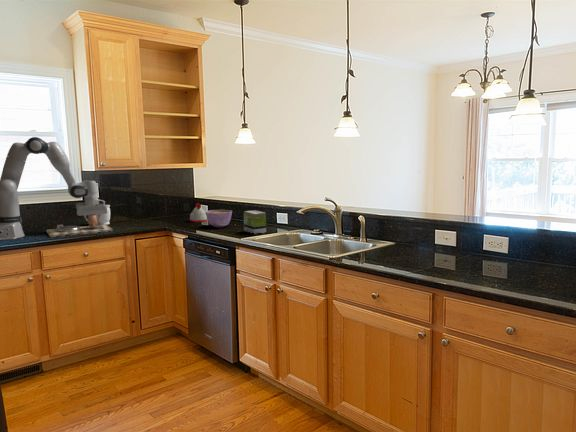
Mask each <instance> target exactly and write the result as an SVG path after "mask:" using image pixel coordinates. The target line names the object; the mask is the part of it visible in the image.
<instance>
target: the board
mask: <svg viewBox="0 0 576 432" xmlns="http://www.w3.org/2000/svg"><path fill="white" fill-rule="evenodd" d="M108 231H111V232H114V229H113V228H112V227H110V226H109V225H108V224H107V225H99V224H98V226H96V227H89V225H88V226H87V225H85V226H80V230H79V231H74V232H57V228H53V229H52V228H51V229H46V234H47V235H48V236H49V238H57V237H56V236H59V237H66V236H65V235H69V236H77V234H80V235H87V234H88V235H90V234H99V233H98V232H101V233H109V232H108ZM89 233H90V234H89Z"/></svg>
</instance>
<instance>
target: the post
mask: <svg viewBox="0 0 576 432" xmlns="http://www.w3.org/2000/svg"><path fill="white" fill-rule="evenodd" d="M80 227H81V226H79V225H65V226H64V223H63V224H62V223H60V224H56V229H57V232H74V231H79V230H80Z"/></svg>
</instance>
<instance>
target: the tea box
mask: <svg viewBox="0 0 576 432" xmlns="http://www.w3.org/2000/svg"><path fill="white" fill-rule="evenodd" d="M243 231H244V232H247V233H249V232H250V233H249V234H252V233H254V234H253V235H258V234H257V233H262V234H266V233H267V213H266V212H265V211H259V210H256V209H255V210H245V211H243ZM265 232H266V233H265Z"/></svg>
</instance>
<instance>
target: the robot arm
mask: <svg viewBox="0 0 576 432" xmlns="http://www.w3.org/2000/svg"><path fill="white" fill-rule="evenodd" d="M30 154H35V155H39V154H44V155H45V156H46V157H47V159H48V160H49V162H50V164H51V165H52V166H53V168H54V169H55V170H56V171H57V172H58V173H59V174H60V175H61V176H62V178H63V179H64V181H65V183H66V184H67V190H68V191H67V192H68V194H69V195H70V197H72V198H74V199H81V198H84V202H83V201H82V202H77V203H76V204H75V208H76V215H77V216H79V217H81V216H82V217H84V219H85V222H88V217H87V216H88V215H95V214H98V215H99V217H98V218H97V222H98V220H100V219H99V218H100V216H101V214H107V207H106V205H107V204H105V203H106V201H105V200H103V199H100V198H99V197H98V184H97V182H96V180H94V179H88V178H86V179H84V180H83V181H80V182H77V180H76V178H75V177H74V175H73V173H72V171H71V168H70V167H71V163H70V160H69V157H68V156H67V154H66V152H65V151H64V149H63V148H62V146H61V145H60V144H59V143H58V142H56V141H49V142H46V141H45V140H43V139H42V138H40V137H37V136H32V137H30V138H28V139H27V140H26V142H13V143H12V144H11V146H10V148H9V149H8V152H7V155H6V158H5V161H4V165H3V167H2V171H1V174H0V241H5V240H6V241H7V240H15V239H19V238H23V237H25V233H24V230H23V226H22V222H23V221H22V216H21V213H20V203H19V195H18V194H19V193H18V188H19V186H20V182H21V178H22V174H23V172H24V169H25V165H26V163H27V159H28V156H29V155H30Z"/></svg>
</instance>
